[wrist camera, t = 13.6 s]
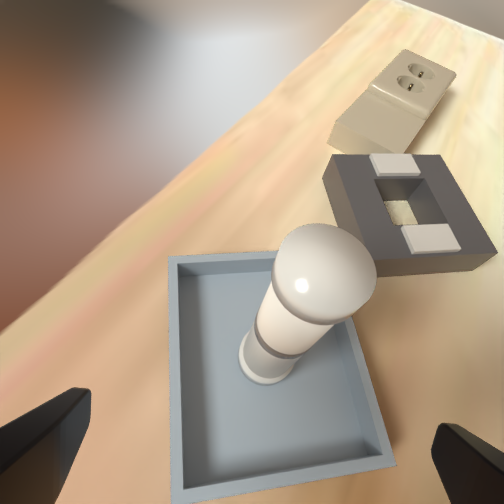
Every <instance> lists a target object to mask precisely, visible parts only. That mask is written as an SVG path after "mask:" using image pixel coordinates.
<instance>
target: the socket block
mask: <svg viewBox="0 0 504 504" xmlns="http://www.w3.org/2000/svg"><path fill="white" fill-rule="evenodd" d="M322 179H323V182H324V185H325V188H326V191H327V195H328V198H329V201H330V204H331V207H332V210H333V213H334V216H335V219H336V222H337V225H338V228H340V229H343V230H345V231H347V232H348V233H350V234H351V235H353V236H354V237H355V238H357V239H358V240H359V241H360V242H361V243H362V244H363V245H364V246H365V247H366V249H367V250H368V252H369V253H370V255H371V257H372V259H373V261H374V264H375V267H376V273H377V277H387V276H402V275H416V274H431V273H445V272H460V271H472V270H474V269H475V268H477V267H478V266H480V265H481V264H483V263H484V262H485V261H487V260H488V259H490V258H491V257H493V256H494V255H496V254H497V253H498V252H497V250H496V248H495V247H494V245H493V243H492V242H491V240H490V238H489V237H488V235H487V233H486V232H485V230H484V228H483V227H482V225H481V223H480V221H479V220H478V218H477V216H476V215H475V213H474V211H473V210H472V208H471V206H470V205H469V203H468V201H467V199H466V198H465V196H464V194H463V193H462V191H461V189H460V188H459V186H458V184H457V183H456V181H455V179H454V178H453V176H452V174H451V172H450V171H449V169H448V167H447V166H446V164H445V162H444V161H443V159H442V157H441V156H440V155H411V154H377V153H371V154H370V155H364V154H332V156H331V159H330V161H329V163H328V166H327V168H326V170H325V172H324V175H323V177H322ZM388 200H407V201H408V203H409V205H410V207H411V209H412V211H413V213H414V215H415V218H416V220H417V222H418V224H419V225H396V226H394V225H393V223H392V221H391V218H390V216H389V214H388V211H387V209H386V207H385V204H384V202H383V201H388Z"/></svg>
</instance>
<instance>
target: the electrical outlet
mask: <svg viewBox="0 0 504 504" xmlns="http://www.w3.org/2000/svg"><path fill="white" fill-rule="evenodd" d="M455 78H456V73H455V72H454V71H451V70H449V69H447V68H445V67H443V66H441V65H439V64H437V63H434V62H432V61H430V60H428V59H426V58H424V57H422V56H420V55H417V54H415V53H413V52H411V51H409V50H406V49H405V50H402V51H401V52H400V53H399V54H398V55H397V56H396V57H395V58H394V60H393V61H392V62H391V63H390V64H389V65H388V66H387V67H386V68H385V69H384V70H383V71H382V72H381V73H380V74H379V75H378V76H377V77H376V78H375V79H374V80H373V81H372V82H371V83H370V84H369V86H368V88H367V90H366V91H365V92H364V93H363V94H362V95H361V96H360V97H359V98H358V99H357V100H356V101H355V102H354V103H353V104H352V105H351V106H350V107H349V108H348V109H347V110H346V111H345V112H344V113H343V114H342V115H341V116H340V117H339V118H338V119H337V120H336V122H335V124H334V127H333V129H332V132H331V134H330V137H329V139H328V141H327V144H329V145H330V146H332V147H334V148H336V149H338V150H339V151H341V152H343V153H345V154H364V155H370V154H371V153H377V154H404V152H405V151H406V149H407V148H408V146H409V145H410V143H411V142H412V140H413V139H414V138H415V136H416V135H417V133H418V132H419V130H420V129H421V127H422V126H423V124H424V123H425V122H426V120H427V119H428V117H429V116H430V114H431V113H432V111H433V110H434V108H435V107H436V106H437V104H438V103H439V101H440V100H441V98H442V97H443V95H444V94H445V92H446V91H447V89H448V88H449V86H450V85H451V84H452V82H453V81H454V79H455Z"/></svg>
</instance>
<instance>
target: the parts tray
mask: <svg viewBox="0 0 504 504" xmlns="http://www.w3.org/2000/svg"><path fill="white" fill-rule="evenodd" d="M277 253H278V251H265V252H245V253H225V254H206V255H186V256H168V289H169V379H170V469H171V504H191V503H196V502H202V501H207V500H213V499H218V498H224V497H229V496H235V495H240V494H246V493H251V492H257V491H262V490H268V489H273V488H278V487H284V486H289V485H295V484H300V483H306V482H311V481H317V480H322V479H328V478H333V477H339V476H344V475H350V474H355V473H361V472H366V471H372V470H377V469H382V468H388V467H393V466H397V465H396V461H395V458H394V455H393V451H392V448H391V445H390V441H389V438H388V435H387V432H386V428H385V425H384V422H383V418H382V415H381V412H380V408H379V405H378V402H377V398H376V395H375V392H374V388H373V385H372V382H371V378H370V375H369V372H368V368H367V365H366V362H365V358H364V355H363V352H362V348H361V345H360V342H359V338H358V335H357V332H356V328H355V325H354V322H353V319H352V316H350V317H349V318H348V319H346V320H345V321H343V322H340V323H338V324H334V325H333V326H332V327H331V328H330V329H329V330H328V331H327V332H326V333H325V334H324V335H323V336H322V337H321V338H320V339H319V340H318V341H317V342H316V343H315V344H314V345H313V346H312V347H311V348H310V349H309V350H308V351H307V352H306V353H305V354H304V355H303V356H302V357H301V358H299V359H298V360H297V361H296V362H295V363H294V366H293V368H292V370H291V371H290V373H289V374H288V375H287V376H286V377H285V378H284V379H283V380H281V381H280V382H278V383H277V384H274V385H271V386H261V385H257V384H255V383H253V382H251V381H250V380H248V379H247V378H246V377H245V376H244V374H243V373H242V371H241V369H240V367H239V363H238V350H239V347H240V345H241V342H242V340H243V338H244V336H245V335H246V334H247V333H248V332H249V331H250V329H251V327H252V325H253V322H254V320H255V317H256V314H257V312H258V310H259V308H260V306H261V304H262V302H263V299H264V297H265V295H266V292H267V290H268V288H269V285H270V283H271V271H272V266H273V263H274V261H275V258H276V256H277Z"/></svg>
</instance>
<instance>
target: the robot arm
mask: <svg viewBox="0 0 504 504" xmlns="http://www.w3.org/2000/svg"><path fill="white" fill-rule="evenodd" d="M90 415H91V391H90V390H89V389H87V388H77V387H74V388H71V389H69V390H67V391H65V392H63V393H62V394H60V395H58V396H56V397H54V398H53V399H51V400H49V401H47V402H45V403H44V404H42V405H40V406H38V407H36V408H35V409H33V410H31V411H29V412H27V413H26V414H24V415H22V416H20V417H18V418H17V419H15V420H13V421H11V422H9V423H8V424H6V425H4V426H2V427H0V504H55V502H56V500H57V498H58V496H59V494H60V492H61V490H62V487H63V485H64V483H65V481H66V478H67V476H68V473H69V471H70V469H71V466H72V464H73V462H74V459H75V457H76V455H77V452H78V450H79V448H80V445H81V443H82V441H83V438H84V436H85V434H86V431H87V429H88V426H89V423H90ZM431 455H432V459H433V462H434V464H435V466H436V469H437V471H438V474H439V476H440V478H441V481H442V483H443V486H444V488H445V490H446V493H447V495H448V498H449V500H450V502H451V504H504V453H503V452H501V451H500V450H498V449H496V448H495V447H493V446H492V445H490V444H488V443H487V442H485V441H484V440H482V439H480V438H479V437H477V436H475V435H474V434H472V433H471V432H469V431H467V430H466V429H464V428H463V427H461V426H459V425H457V424H451V423H441V424H440V425H439V426H438V428H437V431H436V435H435V438H434V441H433V444H432V448H431Z"/></svg>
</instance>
